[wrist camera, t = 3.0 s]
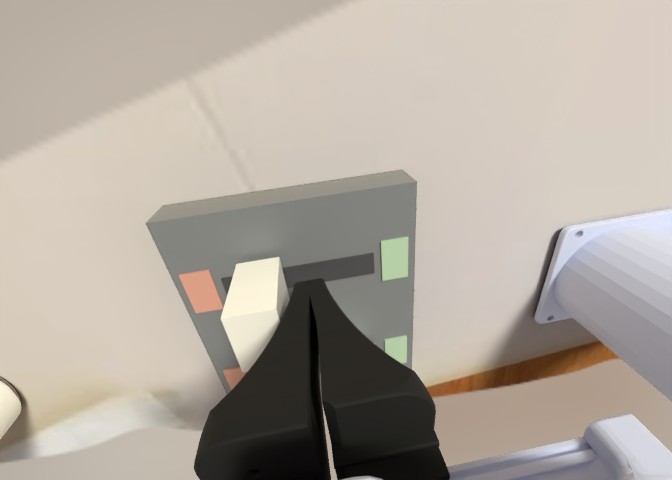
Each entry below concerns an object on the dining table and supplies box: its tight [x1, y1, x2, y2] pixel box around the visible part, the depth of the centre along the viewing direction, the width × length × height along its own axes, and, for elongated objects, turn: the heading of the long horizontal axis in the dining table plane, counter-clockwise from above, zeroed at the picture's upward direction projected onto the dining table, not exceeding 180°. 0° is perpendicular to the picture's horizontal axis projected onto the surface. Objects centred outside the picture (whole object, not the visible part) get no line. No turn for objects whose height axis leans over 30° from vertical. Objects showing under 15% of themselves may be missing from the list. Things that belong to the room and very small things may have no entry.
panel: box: [146, 170, 417, 404], centre depth 17 cm, size 12×15×2 cm
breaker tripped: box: [221, 257, 290, 372], centre depth 13 cm, size 2×3×4 cm, turn 7°
